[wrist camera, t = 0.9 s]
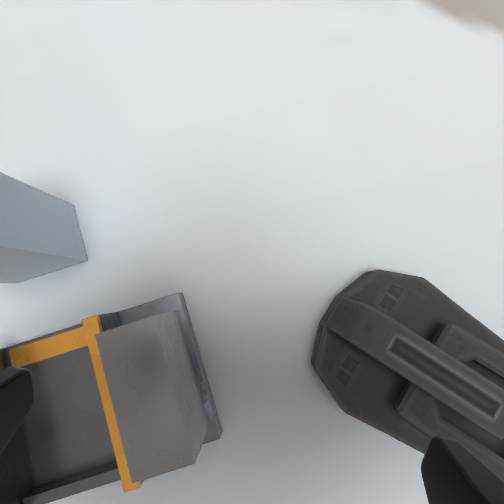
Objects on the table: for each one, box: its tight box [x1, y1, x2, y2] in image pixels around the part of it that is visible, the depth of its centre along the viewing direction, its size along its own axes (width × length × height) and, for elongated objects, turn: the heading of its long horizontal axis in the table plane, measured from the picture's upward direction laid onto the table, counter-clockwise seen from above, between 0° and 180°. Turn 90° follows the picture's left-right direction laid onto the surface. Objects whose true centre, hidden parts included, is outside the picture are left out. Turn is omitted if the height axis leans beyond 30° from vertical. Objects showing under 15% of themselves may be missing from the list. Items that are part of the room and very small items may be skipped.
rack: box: [0, 293, 222, 504], centre depth 18 cm, size 9×16×6 cm, turn 108°
